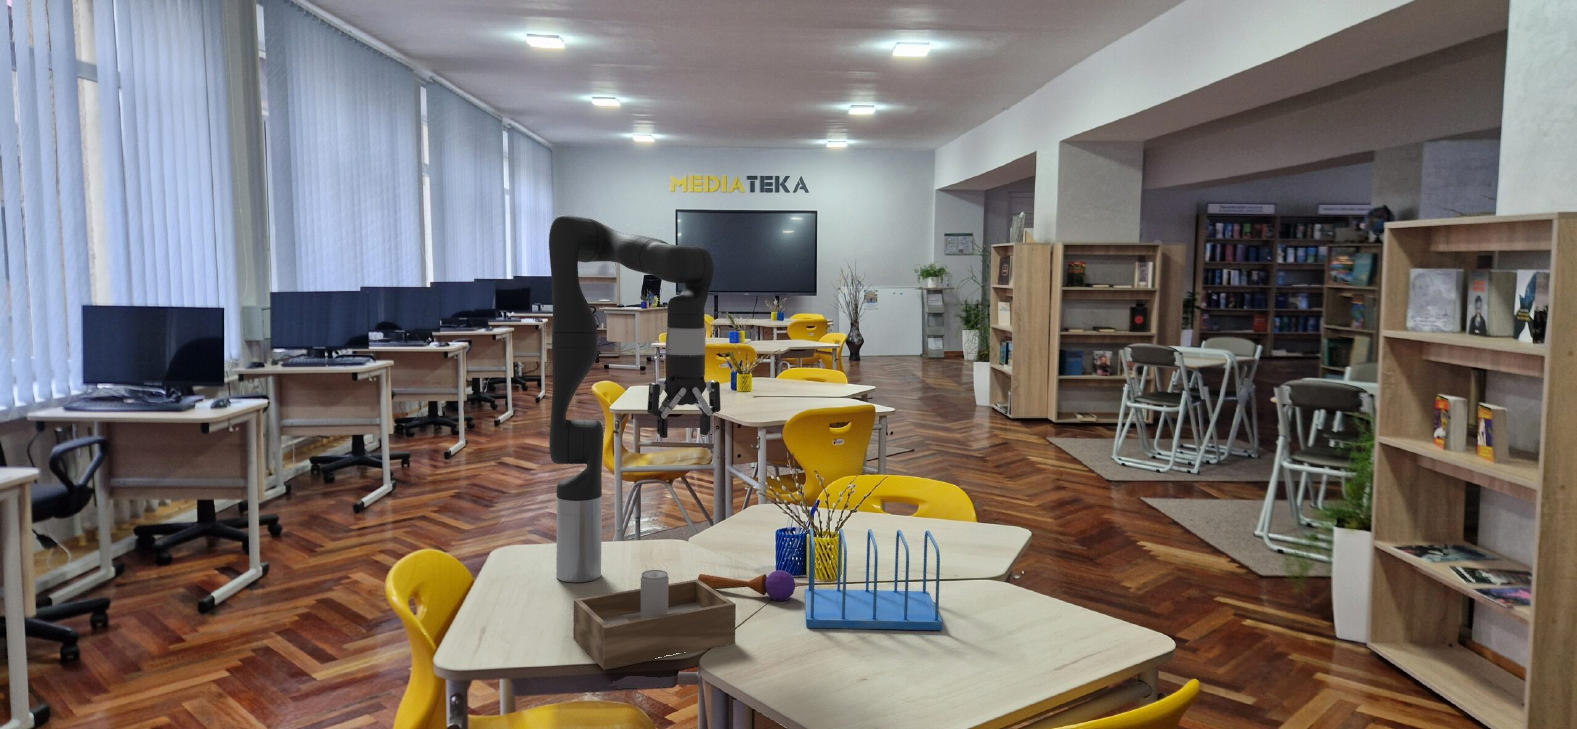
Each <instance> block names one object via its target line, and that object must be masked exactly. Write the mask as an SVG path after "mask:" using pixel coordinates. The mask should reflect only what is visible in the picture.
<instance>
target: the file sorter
mask: <svg viewBox="0 0 1577 729" xmlns="http://www.w3.org/2000/svg"><path fill="white" fill-rule="evenodd" d="M928 538H929V540H930V541H931V543H932V545H933V547H934V549H935V553H936V557H935V558H936V570H935V571H936V572H935V573H936V575H935V576H936V577H935V580H936V581H935V603H934V600H933V598H932V596H931V594H930V591H927V567H928V566H927V565H928V564H927V563H928V562H927V560H928V558H927V557H928ZM866 539H867V540H866V543H867V544H866V566H865V567H866V571H865V572H866V573H865V589H847V569H848V568H847V565H848V562H847V560H848V559H847V558H848V556H847V555H848V549H847V548H848V547H847V543H846V542H847V541H846V537H845V533H844V530H843V528H839V530H838V547H837V548H838V549H837V550H838V551H837V552H838V553H837V584H836V585H837V586H836V588H837V589H836V588H834V589H833V588H832V589H831V588H829V589H826V588H823V589H822V588H821V589H819V588H816V589H815V581H816V580H815V575H816V570H815V569H816V568H815V567H816V565H815V564H816V563H815V562H816V544H815V537H814V529H813V527H810V528H809V541H808V543H809V544H808V545H809V546H808V552H809V554H808V588H806V589H804V607H805V608H804V609H805V610H804V612H805V626H806V627H805V628H808V629H809V628H811V629H813V628H815V629H820V628H821V629H860V630H861V629H863V630H866V629H868V630H917V631H918V630H921V631H922V630H923V631H942V630H943V629H944V628H943V627H944V626H943V620H942V617H941V615H940V613H939V605H940V604H939V603H940V601H939V600H940V599H939V598H940V575H941V574H940V573H941V572H940V571H941V570H940V567H941V565H940V564H941V561H940V560H941V556H940V548H939V545H938V543H937V542H936V540H935V538H934V537H933V535H932V533H931V531H930V530H928V529H927V530H925V531H924V539H923V540H924V542H923V544H924V545H923V572H922V573H923V576H922V590H921V591H920V590H909V577H910V576H909V575H910V574H909V572H910V570H909V569H910V550H909V546H908V544H907V540H906V539H905V536H904V534H903V532H902V530H901V529H897V531H896V536H895V558H894V560H895V562H894V587H893V589H894V590H888V589H887V590H884V589H883V590H881V589H880V590H879V589H878V566H879V565H878V563H879V562H878V560H879V559H878V553H879V552H878V545H877V542H876V538H875V536H874V532H873V530H872V529H871V528H869V529H867V536H866ZM900 540H901V543H902V544H903V546H904V550H905V576H904V577H905V581H904V582H905V583H904V590H898V582H899V581H898V578H899V577H898V575H899V574H898V573H899V548H900V545H899V544H900ZM871 542H872V546H873V552H874V567H873V569H874V571H873V573H874V574H873V589H869V588H870V587H869V586H870V583H869V582H870V556H871ZM842 547H843V569H842V568H841V564H842ZM841 569H842V570H843V572H842V573H843V574H842V576H843V577H842V589H841Z"/></svg>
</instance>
